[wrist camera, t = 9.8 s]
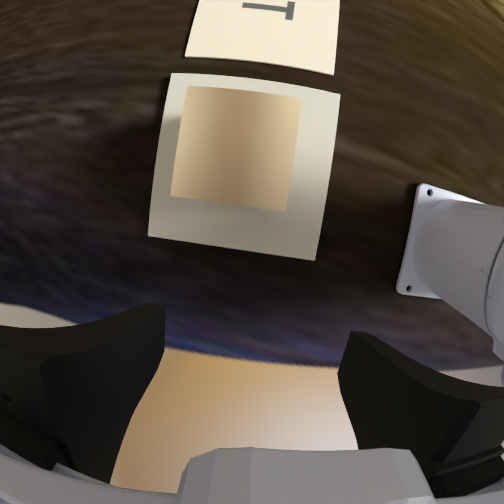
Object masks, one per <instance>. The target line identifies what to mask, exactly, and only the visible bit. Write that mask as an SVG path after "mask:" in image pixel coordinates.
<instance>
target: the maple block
mask: <svg viewBox="0 0 504 504" xmlns="http://www.w3.org/2000/svg"><path fill="white" fill-rule="evenodd" d="M301 104H302V99H301V98H295V97H289V96H283V95H277V94H270V93H263V92H256V91H247V90H238V89H228V88H217V87H202V86H187V91H186V96H185V102H184V107H183V113H182V118H181V124H180V130H179V136H178V143H177V149H176V156H175V163H174V171H173V178H172V186H171V194H170V196H176V197H184V198H193V199H201V200H208V201H216V202H224V203H231V204H238V205H245V206H252V207H259V208H266V209H272V210H279V211H285V212H286V207H287V200H288V194H289V187H290V181H291V174H292V168H293V161H294V154H295V147H296V140H297V133H298V126H299V119H300V111H301Z"/></svg>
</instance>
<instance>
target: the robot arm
mask: <svg viewBox="0 0 504 504" xmlns="http://www.w3.org/2000/svg"><path fill="white" fill-rule="evenodd" d="M428 189H429V190H430V195H429V196H428V194H427V191H428ZM409 285H410V288H409V289H408V290H406V288H407V286H409ZM396 290H397V292H398V293H400V294H404V295H412V296H421V297H429V298H438V299H443V300H444V301H445V302H447V303H448V304H449V305H451V306H452V307H454V308H455V309H456V310H458V311H459V312H460V313H462V314H463V315H464V316H466V317H467V318H468V319H470V320H471V321H472V322H474V323H475V324H476V325H478V326H479V327H480V328H482V329H483V330H484V331H485V332H487V333H488V334H489V335H491V336H492V337H493V339H494V347H493V352H494V353H495V354H496V355H497V356H498V357H499V358H501V359H502V360H503V361H504V207H498V206H493V205H487V204H484V203H481V202H479V201H476V200H473V199H470V198H467V197H465V196H462V195H459V194H456V193H453V192H450V191H447V190H443V189H440V188H437V187H434V186H431V185H427V184H419V185H418V186H417V189H416V195H415V201H414V207H413V213H412V218H411V224H410V229H409V234H408V238H407V243H406V248H405V252H404V256H403V261H402V265H401V269H400V273H399V277H398V281H397V284H396ZM165 315H166V305H162V304H157V303H152V302H150V303H146V304H143V305H140V306H137V307H135V308H132V309H129V310H127V311H124V312H121V313H119V314H116V315H113V316H110V317H107V318H103V319H100V320H97V321H93V322H89V323H85V324H80V325H74V326H66V327H56V328H18V327H10V326H2V325H0V504H504V460H503V459H502V458H501V456H500V455H502V454H503V453H504V448H503V447H502V446H501V443H502V442H503V440H504V365H503V369H502V374H501V381H502V386H503V387H496V386H487V385H481V384H477V383H472V382H468V381H464V380H460V379H457V378H454V377H451V376H448V375H445V374H442V373H440V372H438V371H435V370H433V369H431V368H428V367H426V366H424V365H422V364H420V363H418V362H416V361H415V360H413V359H411V358H409V357H407V356H406V355H404V354H402V353H401V352H399V351H397V350H396V349H394V348H393V347H391V346H389V345H388V344H386V343H385V342H383V341H381V340H380V339H378V338H376V337H375V336H373V335H371V334H369V333H366V332H360V331H351V332H350V336H349V339H348V342H347V345H346V348H345V352H344V355H343V358H342V361H341V364H340V367H339V370H338V373H337V374H338V380H339V386H340V392H341V395H342V398H343V401H344V404H345V407H346V410H347V412H348V415H349V419H350V421H351V424H352V427H353V430H354V433H355V437H356V440H357V444H358V450H346V451H345V450H344V451H297V450H296V451H295V450H277V449H264V448H253V447H250V448H249V447H248V448H218V449H215V450H212V451H210V452H207V453H204V454H202V455H199V456H196V457H193V458H191V459H190V460H189V462H188V464H187V466H186V467H185V469H184V471H183V472H182V476H181V480H180V484H179V488H178V492H177V494H174V493H162V492H151V491H142V490H134V489H127V488H121V487H116V486H113V485H110V480H111V476H112V473H113V469H114V466H115V463H116V459H117V455H118V453H119V450H120V447H121V444H122V440H123V438H124V435H125V433H126V430H127V427H128V425H129V422H130V420H131V417H132V415H133V413H134V411H135V409H136V407H137V405H138V403H139V401H140V400H141V398H142V396H143V394H144V393H145V391H146V389H147V387H148V385H149V384H150V382H151V380H152V378H153V376H154V375H155V373H156V371H157V369H158V366H159V364H160V361H161V359H162V356H163V353H164V347H165Z"/></svg>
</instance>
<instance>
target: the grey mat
mask: <svg viewBox="0 0 504 504" xmlns="http://www.w3.org/2000/svg"><path fill="white" fill-rule="evenodd" d="M187 86H202V87H217V88H228V89H238V90H247V91H256V92H263V93H270V94H277V95H283V96H289V97H295V98H301V99H302V104H301V111H300V119H299V126H298V133H297V140H296V147H295V154H294V161H293V168H292V174H291V181H290V187H289V194H288V200H287V207H286V212H285V211H279V210H272V209H266V208H259V207H252V206H245V205H238V204H231V203H224V202H216V201H208V200H201V199H193V198H184V197H176V196H170V194H171V186H172V178H173V171H174V163H175V156H176V149H177V143H178V136H179V130H180V124H181V118H182V113H183V107H184V102H185V96H186V91H187ZM339 102H340V94H336V93H331V92H327V91H322V90H318V89H313V88H308V87H303V86H297V85H291V84H286V83H279V82H273V81H266V80H258V79H250V78H241V77H231V76H220V75H205V74H182V73H172V74H171V79H170V83H169V88H168V93H167V98H166V103H165V108H164V114H163V119H162V125H161V131H160V137H159V143H158V150H157V157H156V164H155V171H154V179H153V187H152V196H151V206H150V216H149V227H148V236H152V237H159V238H165V239H172V240H179V241H185V242H192V243H199V244H206V245H212V246H219V247H226V248H232V249H239V250H246V251H253V252H259V253H266V254H273V255H279V256H286V257H293V258H299V259H306V260H313V261H315V257H316V252H317V247H318V242H319V236H320V231H321V225H322V220H323V214H324V208H325V202H326V196H327V190H328V184H329V177H330V171H331V164H332V157H333V150H334V143H335V135H336V128H337V120H338V111H339Z"/></svg>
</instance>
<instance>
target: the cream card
mask: <svg viewBox="0 0 504 504" xmlns="http://www.w3.org/2000/svg"><path fill="white" fill-rule="evenodd" d="M339 3H340V0H199V4H198V7H197V11H196V14H195V18H194V21H193V25H192V29H191V33H190V36H189V40H188V44H187V48H186V53H185V57H191V58H214V59H228V60H240V61H249V62H258V63H266V64H273V65H279V66H286V67H292V68H297V69H303V70H308V71H313V72H318V73H322V74H327V75H331V76H333V75H334V66H335V56H336V45H337V32H338V19H339Z"/></svg>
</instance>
